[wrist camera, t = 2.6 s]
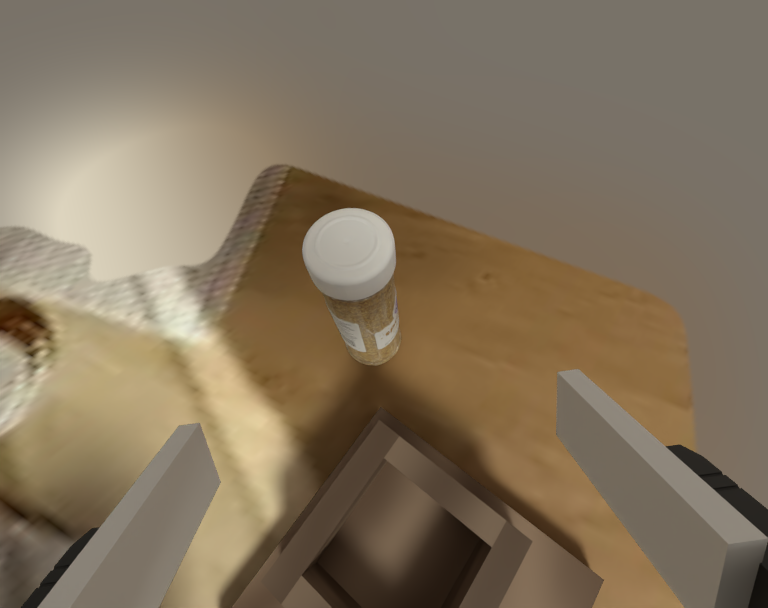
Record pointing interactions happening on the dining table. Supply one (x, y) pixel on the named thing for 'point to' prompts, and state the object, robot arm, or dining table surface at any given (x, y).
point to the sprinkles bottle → (357, 280)
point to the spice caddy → (414, 539)
